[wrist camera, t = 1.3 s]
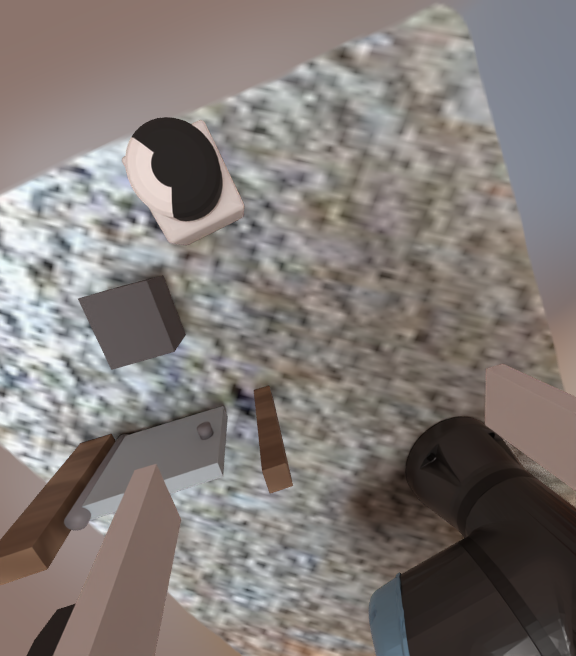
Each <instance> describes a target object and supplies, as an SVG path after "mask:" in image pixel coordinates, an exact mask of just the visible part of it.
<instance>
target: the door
mask: <svg viewBox="0 0 576 656" xmlns="http://www.w3.org/2000/svg"><path fill="white" fill-rule="evenodd" d="M227 417H228V416H227V414H226V411H225V408H224V406H221V407H218V408H214V409H211V410H208V411H205V412H202V413H198V414H195V415H192V416H189V417H185V418H182V419H179V420H176V421H172V422H169V423H166V424H163V425H159V426H156V427H153V428H150V429H146V430H143V431H140V432H137V433H133V434H130V435H128V434H122V435H120V436H119V437H118V438H117V440H116V441H115V443H114V444H113V446H112V447H111V449H110V451H109V452H108V454H107V455H106V457H105V458H104V460H103V461H102V463H101V464H100V466H99V467H98V469H97V470H96V472H95V473H94V475H93V477H92V478H91V480H90V481H89V483H88V484H87V486H86V487H85V489H84V490H83V492H82V493H81V495H80V496H79V498H78V499H77V501H76V502H75V504H74V506H73V507H72V509H71V510H70V512H69V513H68V515H67V516H66V518H65V520H64V524H65V526H66V527H67V528H68V529H71V530H81V529H83V528H85V527H86V526H87V524H88V522H89V520H93V519H96V518H99V517H102V516H105V515H108V514H111V513H114V512H116V511H117V509H118V507H119V504H120V502H121V500H122V498H123V495H124V493H125V491H126V488H127V486H128V484H129V482H130V479H131V477H132V475H133V473H134V470H137V469H140V468H143V467H147V466H150V465H154V464H157V466H158V468H159V470H160V473H161V475H162V477H163V479H164V482H165V484H166V486H167V489H168V491H169V493H170V494H172V493H175V492H178V491H181V490H184V489H187V488H190V487H193V486H196V485H199V484H202V483H205V482H208V481H211V480H214V479H217V478H220V477H223V471H224V458H225V444H226V431H227Z"/></svg>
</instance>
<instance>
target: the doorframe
mask: <svg viewBox="0 0 576 656" xmlns="http://www.w3.org/2000/svg"><path fill="white" fill-rule="evenodd" d="M254 397H255V406H256V416H257V426H258V436H259V446H260V456H261V466H262V472H263V475H264V478H265V481H266V484H267V487H268V490H269V493H273V492H276V491H279V490H282V489H285V488H288V487H291V486H293V483H292V479H291V475H290V470H289V466H288V461H287V457H286V453H285V448H284V444H283V439H282V435H281V431H280V426H279V422H278V417H277V413H276V409H275V404H274V400H273V397H272V394H271V390H270V387H269V386H266V387H263V388H260V389H256V390H254ZM114 443H115V439H114V437H113V435H112V434H109V435H106V436H103V437H100V438H96V439H93V440H90V441H86V442H83V443H80V445H79V446H78V447H77V448H76V449H75V451H74V452H73V453H72V454H71V455H70V457H69V458H68V459H67V460H66V461H65V463H64V464H63V465H62V466H61V467H60V469H59V470H58V471H57V472H56V473H55V475H54V476H53V477H52V478H51V479H50V481H49V482H48V483H47V484H46V485H45V487H44V488H43V489H42V490H41V492H40V493H39V494H38V495H37V496H36V498H35V499H34V500H33V501H32V502H31V504H30V505H29V506H28V507H27V509H26V510H25V511H24V512H23V513H22V514H21V516H20V517H19V518H18V519H17V520H16V522H15V523H14V524H13V525H12V526H11V528H10V529H9V530H8V531H7V533H6V534H5V535H4V536H3V537H2V539H1V540H0V585H3V584H6V583H9V582H11V581H14V580H17V579H20V578H23V577H26V576H29V575H32V574H35V573H38V572H41V571H44V570H47V569H48V568H49V566H50V564H51V563H52V561H53V559H54V558H55V556H56V554H57V552H58V551H59V549H60V547H61V546H62V544H63V543H64V541H65V539H66V538H67V536H68V534H69V533H70V531H71V529H68V528H67V527H66V526H65V524H64V520H65V518H66V516H67V515H68V513H69V512H70V510H71V509H72V507H73V506H74V504H75V502H76V501H77V499H78V498H79V496H80V495H81V493H82V492H83V490H84V489H85V487H86V486H87V484H88V483H89V481H90V480H91V478H92V477H93V475H94V473H95V472H96V470H97V469H98V467H99V466H100V464H101V463H102V461H103V460H104V458H105V457H106V455H107V454H108V452H109V451H110V449H111V447H112V446H113V444H114Z"/></svg>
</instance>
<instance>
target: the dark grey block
mask: <svg viewBox="0 0 576 656" xmlns="http://www.w3.org/2000/svg"><path fill="white" fill-rule="evenodd" d="M78 300H79V302H80V304H81V306H82V308H83V311H84V313H85V315H86V317H87V319H88V321H89V323H90V325H91V327H92V330H93V332H94V334H95V336H96V338H97V340H98V342H99V344H100V346H101V349H102V351H103V353H104V355H105V357H106V359H107V361H108V363H109V365H110V368H111V370H112V369H116V368H119V367H123V366H126V365H130V364H133V363H137V362H140V361H144V360H147V359H151V358H154V357H157V356H161V355H164V354H168V353H171V352H175V350H176V349H177V347H178V346H179V344H180V342H181V341H182V339H183V338H184V336H185V335H186V334H185V332H184V329H183V326H182V324H181V321H180V318H179V316H178V313H177V310H176V308H175V305H174V302H173V300H172V297H171V294H170V292H169V289H168V286H167V284H166V281H165V278H164V276H159V277H155V278H151V279H148V280H144V281H140V282H136V283H132V284H129V285H125V286H121V287H117V288H113V289H110V290H106V291H103V292H99V293H96V294H92V295H89V296H85V297H82V298H79V299H78Z"/></svg>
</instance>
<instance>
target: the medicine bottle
mask: <svg viewBox="0 0 576 656" xmlns="http://www.w3.org/2000/svg"><path fill="white" fill-rule="evenodd" d="M122 162H123V164H124V166H125V168H126V172H127V176H128V179H129V182H130V184H131V186H132V188H133V190H134V191H135V193H136V194H137V196H138V197H139V198H140V199H141V200H142V201H143V203H145V204H146V205H147V206H148V207H149V209H150V211H151V212H152V214H153V216H154V217H155V219H156V221H157V223H158V224H159V226H160V228H161V229H162V231H163V233H164V235H165V236H166V238H167V240H168V241H169V242H170V243H172V244H179V245H189V244H191V243H193V242H195V241H197V240H199V239H201V238H203V237H205V236H207V235H209V234H211V233H213V232H215V231H217V230H219V229H221V228H223V227H225V226H227V225H229V224H231V223H233V222H235V221H237V220H239V219H241V218H242V217H243V215H244V203H243V201H242V199H241V197H240V195H239V192H238V190H237V188H236V186H235V184H234V182H233V180H232V178H231V176H230V174H229V172H228V170H227V168H226V165H225V163H224V161H223V159H222V157H221V155H220V153H219V151H218V149H217V147H216V145H215V143H214V140H213V138H212V136H211V134H210V132H209V130H208V128H207V126H206V124H205V123H204V121H202V120H199V121H197V122H195V123H193V124H190V123H188V122H186V121H183V120H180V119H176V118H168V117H165V118H157V119H154V120H151V121H149V122H146V123H145V124H143V125H142V126H140V127H139V128H138V129H137V130H136V131H135V133H134V134H133V136H132V137H131V139H130V141H129V143H128V146H127V150H126V156H124V157H123V158H122Z"/></svg>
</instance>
